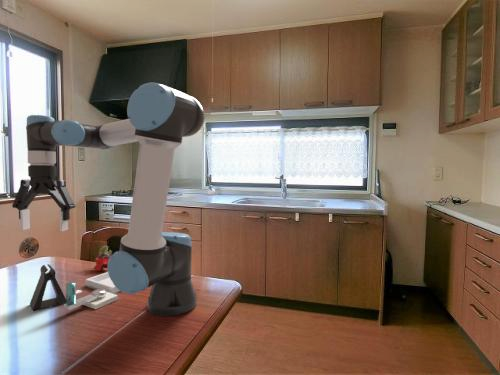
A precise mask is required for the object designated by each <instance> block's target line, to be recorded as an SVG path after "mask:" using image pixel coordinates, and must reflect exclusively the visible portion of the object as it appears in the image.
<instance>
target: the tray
mask: <svg viewBox="0 0 500 375" xmlns="http://www.w3.org/2000/svg"><path fill="white" fill-rule="evenodd" d="M85 287H88V288H90V289H94V290H97V289H105V290H106V292H109V293H112V294H115V295H117V294H119V293H122V291H120V290H119V289H117V288H116V287H115V285H114V284H113V282H112V281H111V279H110V277H109V274H108V271H106V272H104V273H100V274H98V275H95V276H91V277H88V278H86V279H85Z"/></svg>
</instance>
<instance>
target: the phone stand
mask: <svg viewBox="0 0 500 375" xmlns="http://www.w3.org/2000/svg"><path fill="white" fill-rule="evenodd" d="M46 266H47V267H48V268H49V269H48V268H47V267H46ZM47 271H48V272H47ZM49 281H50V283H51V286H52V288H53V292H54V293H55V296H56V297H52V298H48V299H45V300H44V295H45V292H46V289H47V286H48V282H49ZM33 291H34V292H33V294H32V296H31V300H30V302H29V306H30V308H31V310H32V312H37V311H41V310H46V309H50V308H54V307H56V306H57V307H58V306H60V305H64V304H66V295H64V292H63V290H62V288H61V286H60V284H59V282H58V281H57V278H56V270H55V269H54V268H53V267H52V265H51V264H48V263H47V265H45V264H43V265H41V267H40V276H39V279H38V282H37V283H36V287H35V289H34V290H33Z"/></svg>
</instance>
